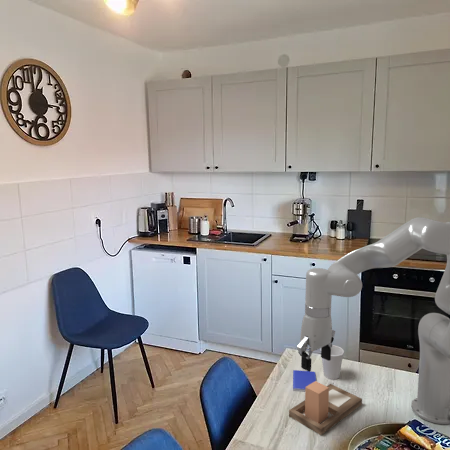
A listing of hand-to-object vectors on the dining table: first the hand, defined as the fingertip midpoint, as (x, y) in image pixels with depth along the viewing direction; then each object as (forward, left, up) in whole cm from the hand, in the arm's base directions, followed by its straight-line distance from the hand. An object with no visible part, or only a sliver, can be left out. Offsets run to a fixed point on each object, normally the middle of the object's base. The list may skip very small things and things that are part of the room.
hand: (316, 364), depth 120 cm
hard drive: (+15, -13, -18) cm, 27 cm away
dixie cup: (+11, -24, -18) cm, 32 cm away
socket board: (0, -5, -18) cm, 18 cm away
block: (0, 0, -18) cm, 18 cm away
